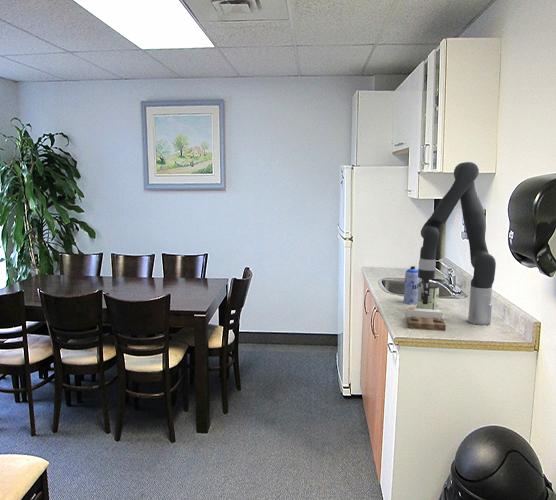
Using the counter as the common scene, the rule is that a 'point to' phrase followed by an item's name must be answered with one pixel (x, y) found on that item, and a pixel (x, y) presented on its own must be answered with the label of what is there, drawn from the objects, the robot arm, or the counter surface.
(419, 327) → the mounting board
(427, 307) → the coffee can
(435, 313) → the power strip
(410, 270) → the aerosol can
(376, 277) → the counter surface
